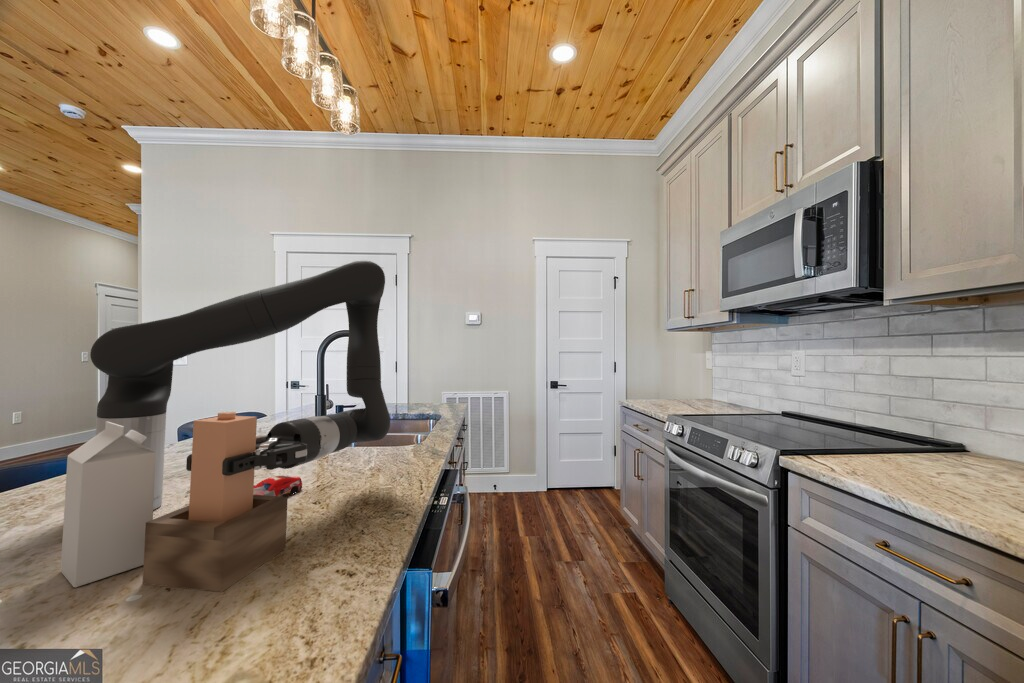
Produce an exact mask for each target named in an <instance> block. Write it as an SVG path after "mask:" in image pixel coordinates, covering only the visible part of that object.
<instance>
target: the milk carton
mask: <svg viewBox="0 0 1024 683" xmlns="http://www.w3.org/2000/svg"><path fill="white" fill-rule="evenodd" d="M123 433H124V426H121V425H118V424H114V423H111V422H108V421H107V422H105V430H103V431H102V432H101V433H99V434H98V435H96V434H95V436H94V437H91V439H89V440H88V441H86V442H85V443H84V444H82V445H81V446H79V447H78V448H76V449H75V450H73V451H72V452H70V453H69V454H68V455H67V460H66V476H65V492H64V508H63V509H64V511H63V525H62V526H63V527H62V542H61V543H62V544H61V557H60V558H61V559H60V572H61V573H62V575H63V576H64V577H65V578H66V580H67V581H68V582H69V583H70V584H71V585H72V587H73V588H78V587H80V586H84V585H87V584H90V583H93V582H96V581H99V580H102V579H105V578H108V577H111V576H115V575H118V574H120V573H123V572H127V571H130V570H132V569H133V570H134V569H136V568H138V567H139V568H140V567H141V566H144V547H145V528H146V522H148V521H150V520H153V519H154V510H153V504H154V485H155V465H156V452H154V451H152V450H150V449H149V448H147V447H145V446H143V445H141V443H142V442H143V441H144V440H145V439H146V438H147V437H146V436H144V435H142V434H140V433H138V432H136V431H134V430H130V431H129V432H128V433H127V434H126V435H123Z"/></svg>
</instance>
